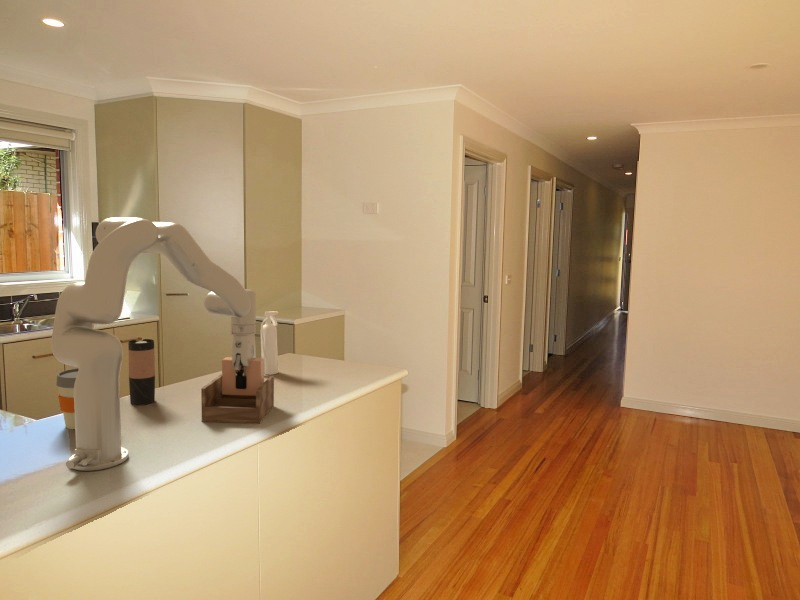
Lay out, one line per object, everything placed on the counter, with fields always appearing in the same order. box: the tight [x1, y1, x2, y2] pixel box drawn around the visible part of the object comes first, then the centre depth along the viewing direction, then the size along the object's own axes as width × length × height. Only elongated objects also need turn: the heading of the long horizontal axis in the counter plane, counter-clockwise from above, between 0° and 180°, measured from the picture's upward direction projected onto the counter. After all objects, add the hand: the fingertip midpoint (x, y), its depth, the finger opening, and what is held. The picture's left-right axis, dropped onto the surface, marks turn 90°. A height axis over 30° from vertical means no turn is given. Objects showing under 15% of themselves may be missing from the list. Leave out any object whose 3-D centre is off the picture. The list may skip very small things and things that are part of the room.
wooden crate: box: [200, 373, 275, 425], centre depth 168 cm, size 17×17×10 cm
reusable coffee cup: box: [55, 367, 79, 430], centre depth 154 cm, size 13×13×15 cm
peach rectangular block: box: [221, 356, 265, 396], centre depth 171 cm, size 4×12×11 cm, turn 89°
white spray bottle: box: [260, 310, 279, 376], centre depth 217 cm, size 7×12×25 cm, turn 157°
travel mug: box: [127, 338, 156, 406], centre depth 176 cm, size 8×8×20 cm
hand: (243, 385), depth 172 cm, fingers closed on peach rectangular block, 4 cm apart
